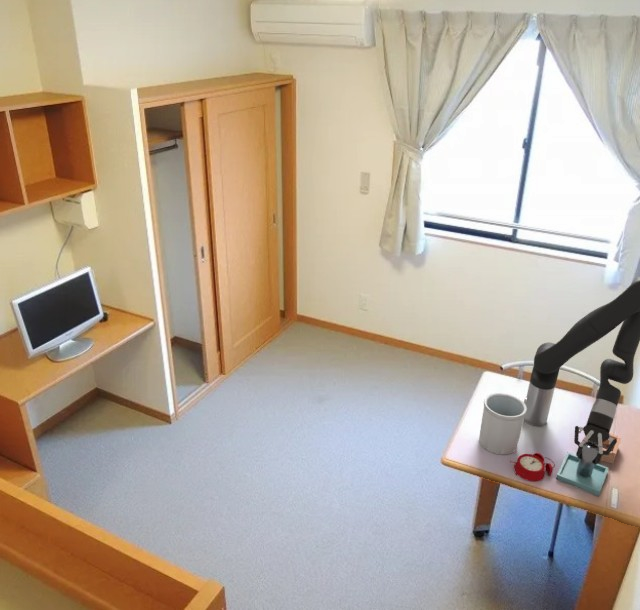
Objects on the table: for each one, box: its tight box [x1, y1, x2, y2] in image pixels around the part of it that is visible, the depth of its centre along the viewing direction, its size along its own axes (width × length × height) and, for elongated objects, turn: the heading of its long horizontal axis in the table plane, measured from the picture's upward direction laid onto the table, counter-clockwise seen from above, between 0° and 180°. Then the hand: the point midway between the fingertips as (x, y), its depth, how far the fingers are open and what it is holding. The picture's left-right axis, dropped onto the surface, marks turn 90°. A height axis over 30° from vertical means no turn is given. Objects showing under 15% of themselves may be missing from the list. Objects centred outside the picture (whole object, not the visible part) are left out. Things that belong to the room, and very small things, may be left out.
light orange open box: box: [583, 432, 622, 464], centre depth 217 cm, size 11×11×4 cm
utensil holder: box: [479, 392, 527, 455], centre depth 216 cm, size 15×15×18 cm
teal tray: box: [555, 452, 610, 497], centre depth 205 cm, size 14×14×2 cm
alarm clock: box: [509, 452, 556, 482], centre depth 206 cm, size 10×6×15 cm
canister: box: [577, 441, 599, 477], centre depth 202 cm, size 5×5×11 cm
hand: (586, 461), depth 200 cm, fingers closed on canister, 5 cm apart
